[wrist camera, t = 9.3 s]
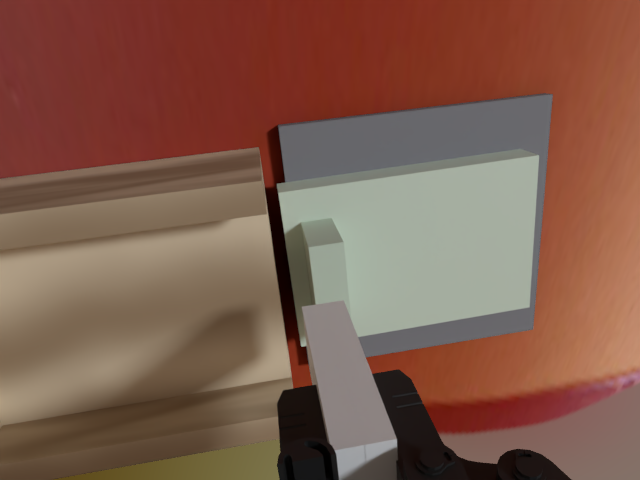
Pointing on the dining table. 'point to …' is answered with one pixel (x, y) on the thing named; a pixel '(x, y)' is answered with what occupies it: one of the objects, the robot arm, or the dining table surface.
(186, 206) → the oak box
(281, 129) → the rubber mat
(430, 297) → the lid plate
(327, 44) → the dining table surface
